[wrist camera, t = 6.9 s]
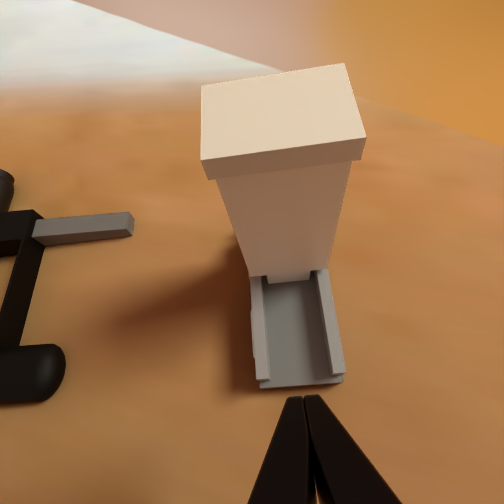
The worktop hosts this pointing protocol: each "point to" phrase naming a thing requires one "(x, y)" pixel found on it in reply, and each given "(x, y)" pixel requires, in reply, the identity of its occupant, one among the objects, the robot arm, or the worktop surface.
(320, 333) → the switch base
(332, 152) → the tall lidded box
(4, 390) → the door handle
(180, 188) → the worktop surface
